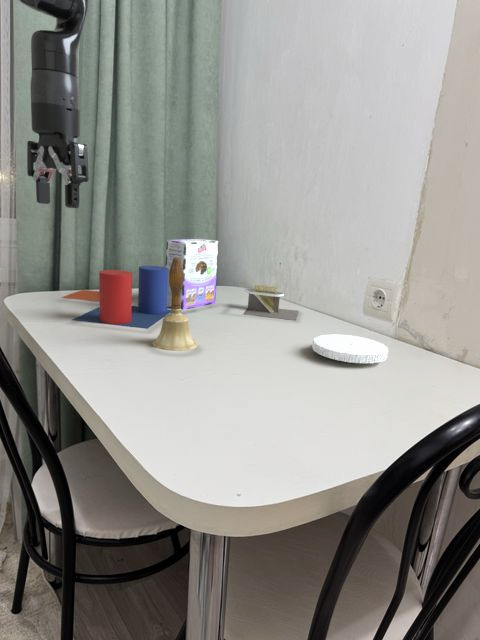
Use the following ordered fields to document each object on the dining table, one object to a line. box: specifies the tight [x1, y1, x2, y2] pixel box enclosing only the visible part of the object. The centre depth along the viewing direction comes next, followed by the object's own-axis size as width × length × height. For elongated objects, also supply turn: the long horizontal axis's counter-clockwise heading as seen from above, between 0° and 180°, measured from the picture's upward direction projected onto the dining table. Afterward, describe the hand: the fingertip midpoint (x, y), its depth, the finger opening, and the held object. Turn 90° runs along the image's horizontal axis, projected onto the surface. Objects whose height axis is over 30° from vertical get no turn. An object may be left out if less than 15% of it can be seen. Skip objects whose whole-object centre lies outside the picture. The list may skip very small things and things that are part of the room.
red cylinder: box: [98, 269, 133, 325], centre depth 104 cm, size 6×6×10 cm
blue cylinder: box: [137, 265, 168, 314], centre depth 115 cm, size 6×6×10 cm
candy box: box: [165, 238, 219, 311], centre depth 125 cm, size 14×6×16 cm, turn 149°
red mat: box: [60, 289, 99, 303], centre depth 127 cm, size 12×12×1 cm
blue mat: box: [71, 305, 171, 330], centre depth 111 cm, size 16×19×1 cm
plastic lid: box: [311, 333, 389, 364], centre depth 95 cm, size 14×14×2 cm
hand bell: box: [151, 258, 199, 352], centre depth 90 cm, size 8×8×16 cm
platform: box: [242, 283, 300, 321], centre depth 128 cm, size 12×18×7 cm, turn 82°
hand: (57, 205), depth 89 cm, fingers open, 8 cm apart
